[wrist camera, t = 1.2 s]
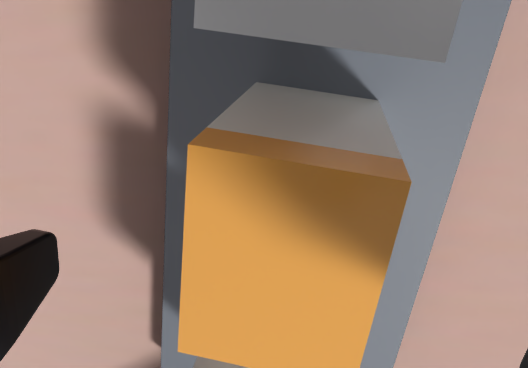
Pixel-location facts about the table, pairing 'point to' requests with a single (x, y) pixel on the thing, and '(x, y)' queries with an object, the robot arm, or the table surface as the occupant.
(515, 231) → the table surface
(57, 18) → the table surface
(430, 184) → the board
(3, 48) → the table surface
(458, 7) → the block
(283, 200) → the block
